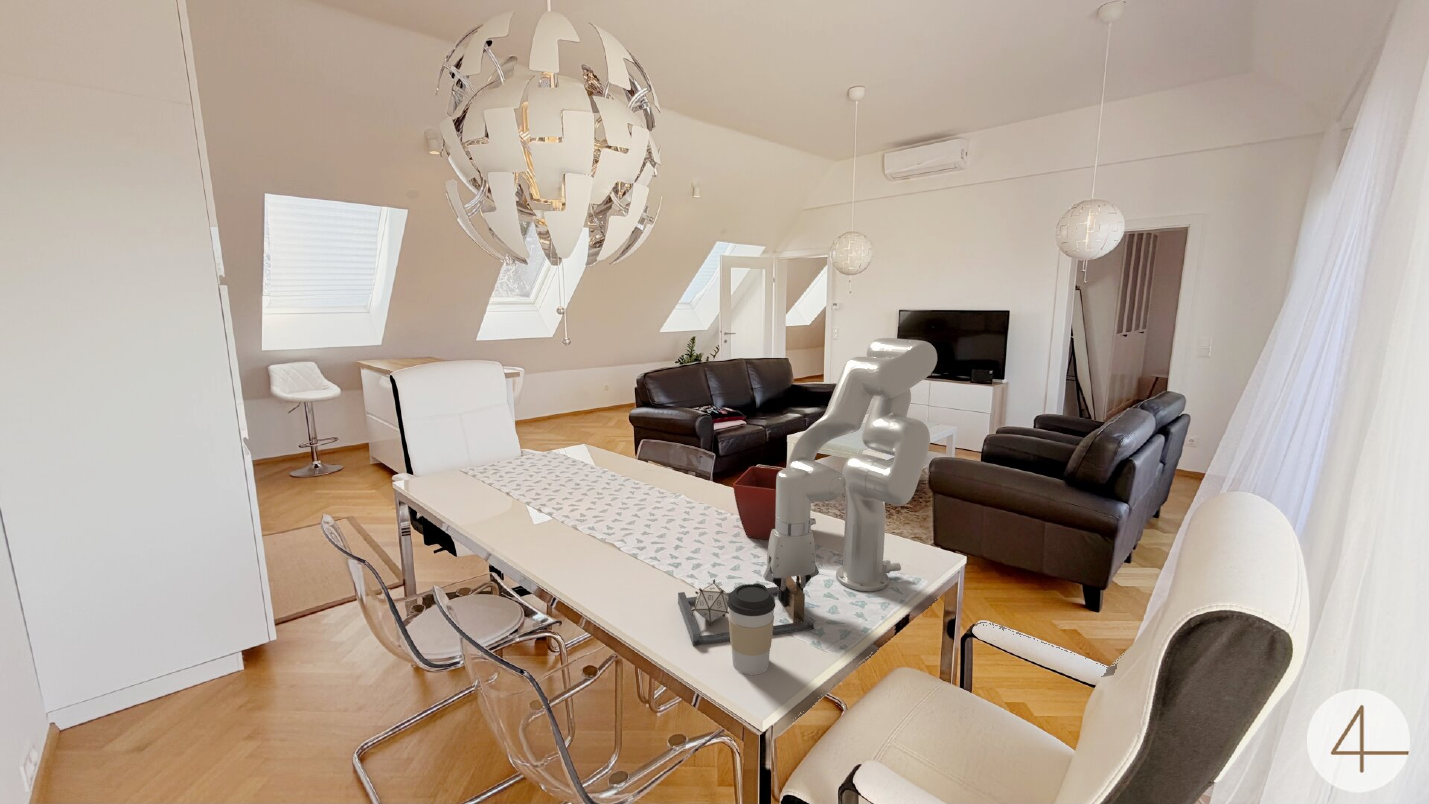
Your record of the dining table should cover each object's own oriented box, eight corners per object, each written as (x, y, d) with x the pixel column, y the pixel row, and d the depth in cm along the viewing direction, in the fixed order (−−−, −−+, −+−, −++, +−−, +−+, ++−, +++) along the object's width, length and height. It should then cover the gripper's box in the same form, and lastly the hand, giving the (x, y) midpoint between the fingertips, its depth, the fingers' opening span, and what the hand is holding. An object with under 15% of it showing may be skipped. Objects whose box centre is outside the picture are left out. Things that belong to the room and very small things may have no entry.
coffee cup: (754, 685, 104) (755, 608, 102) (717, 664, 110) (717, 591, 108) (783, 662, 111) (785, 589, 108) (746, 643, 117) (747, 574, 114)
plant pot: (796, 550, 160) (798, 491, 157) (731, 540, 167) (731, 484, 164) (810, 524, 178) (811, 472, 175) (750, 516, 184) (751, 465, 181)
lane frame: (785, 589, 138) (785, 566, 137) (813, 628, 122) (814, 602, 121) (678, 602, 132) (677, 578, 131) (693, 645, 116) (692, 618, 115)
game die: (709, 630, 128) (713, 583, 133) (739, 630, 123) (742, 581, 127) (681, 624, 123) (686, 575, 127) (710, 624, 117) (714, 573, 122)
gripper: (820, 516, 132) (817, 590, 135) (752, 522, 128) (751, 599, 131) (834, 528, 124) (831, 607, 128) (762, 535, 121) (761, 616, 124)
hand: (790, 602), depth 129 cm, fingers closed on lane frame, 2 cm apart
